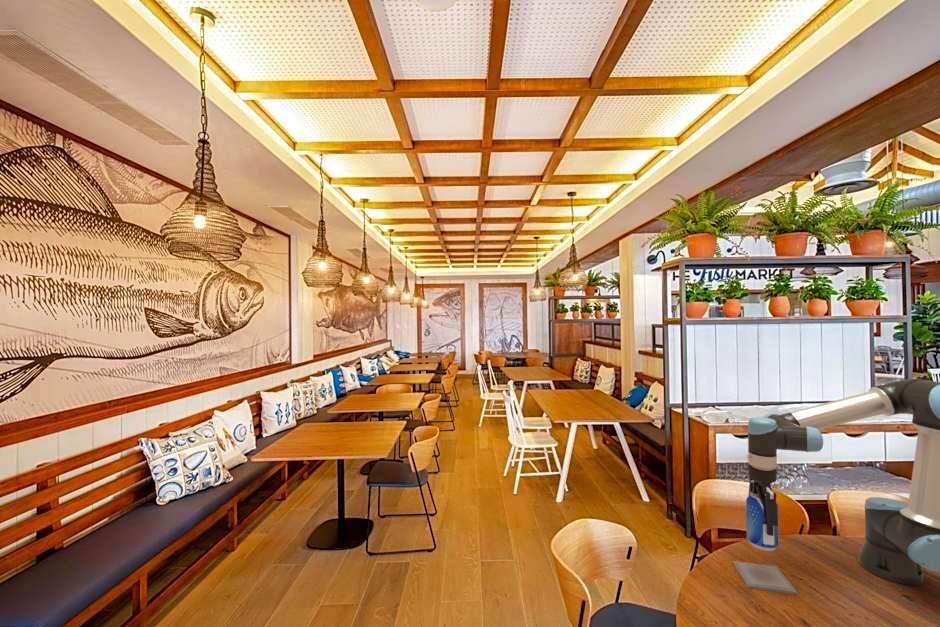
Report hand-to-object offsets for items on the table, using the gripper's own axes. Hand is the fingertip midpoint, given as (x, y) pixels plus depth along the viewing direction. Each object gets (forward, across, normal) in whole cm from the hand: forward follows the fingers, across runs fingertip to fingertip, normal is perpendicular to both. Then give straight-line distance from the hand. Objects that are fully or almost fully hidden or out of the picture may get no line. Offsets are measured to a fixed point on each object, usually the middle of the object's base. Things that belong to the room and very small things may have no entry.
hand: (762, 536), depth 133 cm
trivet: (+14, 0, 0) cm, 14 cm away
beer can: (+3, 0, 0) cm, 3 cm away
